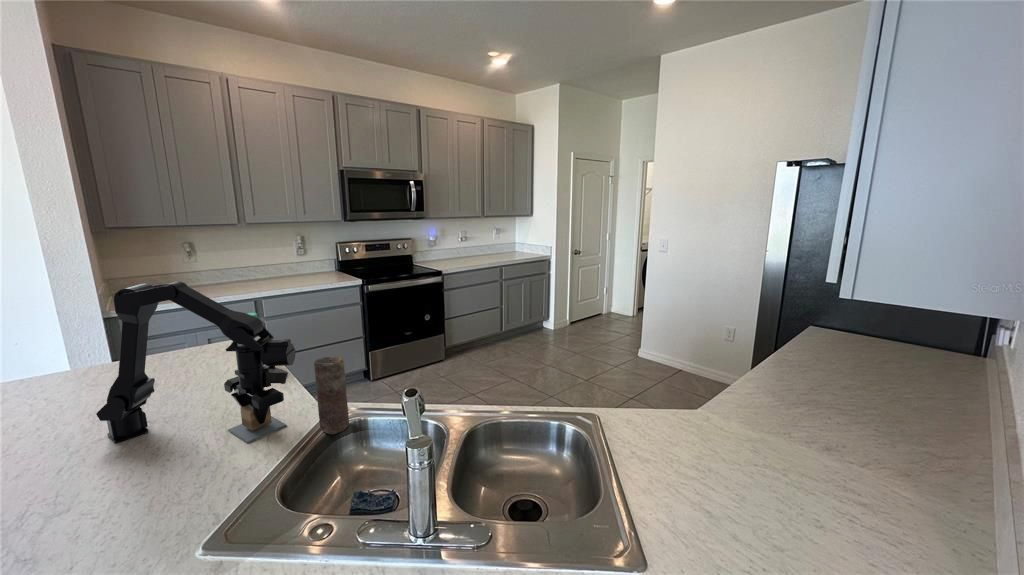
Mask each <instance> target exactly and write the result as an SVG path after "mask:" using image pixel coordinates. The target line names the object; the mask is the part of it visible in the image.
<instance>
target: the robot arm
mask: <svg viewBox="0 0 1024 575" xmlns="http://www.w3.org/2000/svg"><path fill="white" fill-rule="evenodd" d="M112 298H113V305H114V312H115V314H116V315H117V317H118V318H119V320H121V334H120V349H119V361H118V362H119V363H118V375H117V377H116V378H115V380H114V382H113V383H112V385H111V386H110V388H109V390H108V395H107V397H106V404H105V403H104V405H103V406H102V407H101V408H100V409H99V410H98V411H97V412H96V413H95V415H96V416H97V418H98V420H99V421H100V422H106V424H107V429H108V432H107V435H106V436H107V437H108V438H110V440H111V441H112V442H113V443H115V444H118V443H121V442H124V441H126V440H129V439H132V438H135V437H139V436H140V435H143V434H145V433H146V434H147V433H148V432H149V429H148V426H149V425H148V420H147V414H146V412H145V411H144V410H143V408H142V407H143V406H144V405H147V401H148V399H149V398H150V397H151V395H152V394H153V393H154V392H155V391H156V390H155V389H154V388H155V387H154V386H155V381H156V379H155V377H153V378H152V377H149V376H148V375H147V374H146V371H145V370H146V358H147V348H148V337H149V336H148V335H149V324H150V320H151V318H152V317H153V315H154V314H155V312H156V311H157V308H158V306H159V304H160V302H161V303H163V302H165V301H166V302H167V301H171V302H172V303H174V304H175V305H177V306H180V307H182V308H183V309H185V310H187V311H189V312H190V313H193V314H195V315H197V316H199V317H200V318H202V319H204V320H206V321H208V322H210V323H211V324H213V325H215V326H216V328H219V330H220V331H221V333H222V334H223V335H224V336H225V337H226V338H228V339H229V340H230V341H232V342H231V344H230V345H229V346H228V347H226V348H225V351H226V352H235V356H236V357H235V359H236V366H237V369H235V370H234V375H236V377H235V376H234V377H232V378H229V379H227V380H226V381H225V382H224V383H223V384H224V386H223V387H224V391H225V392H227V393H229V394H231V395H230V396H231V397H232V398H233V399H234V400H235V402H236V403H237V404H238V405H239V406H240V408H241V407H243V406H246V405H249V407H250V409H251V410H252V412H253V414H254V416H255V417H256V419H257V421H258V422H259V424H262V423H264V422H265V418H266V415H267V411H268V408H269V407H270V408H271V407H272V406H275V405H277V404H279V403H282V402H284V400H285V395H284V392H281V391H279V390H277V389H276V388H273V387H272V388H269V387H271V386H272V384H280V385H285V384H286V383H287V382H286V381H287V379H288V375H289V372H288V371H286V370H285V369H281V368H277V367H278V366H279V367H281V366H293V364H294V362H295V360H296V348H295V346H294V344H293V343H292V341H291V339H290V338H287V339H286V338H284V339H274V338H275V337H274V335H273V334H272V333H271V332H269V330H268V329H267V328H266V327H265V326H264V324H263V321H262V320H261V319H260V318H259V317H258V316H257V317H254V316H252V315H249V314H247V312H243V311H242V312H241V311H236V310H232V309H229V308H228V307H226V306H225V305H222V304H221V303H219V302H217V301H216V300H213V299H212V298H210V297H208V296H206V295H205V294H202V293H201V292H199V291H197V290H195V289H193V288H191V287H190V286H188V284H186V283H185V282H183V281H178V280H176V281H173V282H170V283H161V284H157V285H153V284H150V283H140V284H136V285H133V286H129V287H125V288H122V289H119V290H118V291H117V292H115V293H114V295H113V297H112ZM258 336H259V337H260V339H258V340H257V341H256V340H255V338H256V337H258ZM264 365H265V366H264ZM265 388H268V389H265Z"/></svg>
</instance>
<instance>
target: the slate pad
mask: <svg viewBox="0 0 1024 575" xmlns="http://www.w3.org/2000/svg"><path fill="white" fill-rule="evenodd" d="M271 421H272V423H269V424H267V425H264V426H262V427H260V428H257V429H255V430H253V431H252V430H250V429H248V428H247V427H245V426H243V425H242V423H241V424H237V425H235V426H233V427H231V428H228V429H227V432H229V433H230V434H232V435H234V436H235V437H236V438H238V439H240V440H241V441H243V442H244V443H245V444H247V445H248V444H250V443H252V442H255V441H256V440H259V439H261V438H263V437H266V436H268V435H270V434H272V433H274V432H277V431H279V430H281V429H284V428H286V427H287V424H286V423H284V422H283V421H281V420H280V419H277V418H275V417H274V416H272V415H271Z"/></svg>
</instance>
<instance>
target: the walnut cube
mask: <svg viewBox="0 0 1024 575" xmlns="http://www.w3.org/2000/svg"><path fill="white" fill-rule="evenodd" d="M271 416H272V412H271V406H270V407H269V408H268V411H267V415H266V418H265V422H264V423H262V424H259V422H258V421H257V419H256V417H255V416H254V414H253V412H252V410H251V409H250V407H249V405H246V406H243V407H240V417H241V424H242V425H243V426H245V427H247V428H248V429H250V430H252V431H253V430H255V429H257V428H260V427H262V426H264V425H267V424H269V423H272V421H271Z"/></svg>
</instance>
